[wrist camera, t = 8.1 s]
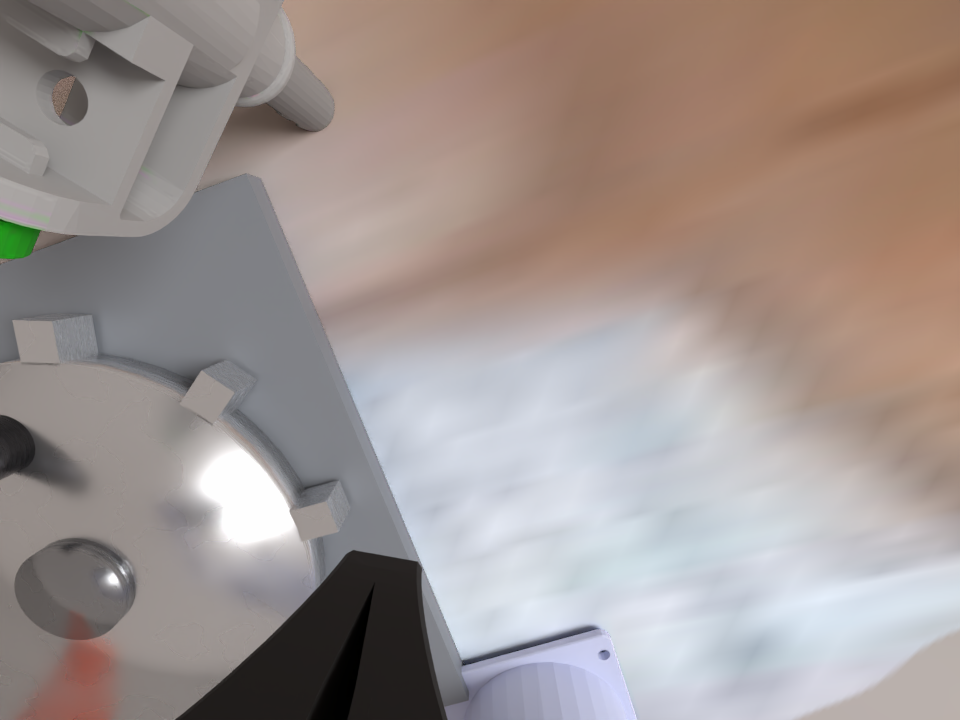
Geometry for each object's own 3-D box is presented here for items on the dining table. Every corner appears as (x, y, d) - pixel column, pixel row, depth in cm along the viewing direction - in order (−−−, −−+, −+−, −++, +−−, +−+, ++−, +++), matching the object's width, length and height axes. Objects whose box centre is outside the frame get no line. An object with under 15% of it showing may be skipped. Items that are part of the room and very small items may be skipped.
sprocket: (420, 684, 19) (404, 805, 15) (17, 780, 20) (-103, 918, 16) (249, 253, 15) (161, 254, 11) (-241, 405, 16) (-489, 459, 12)
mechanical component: (203, 217, 16) (-222, 169, 6) (345, -81, 14) (43, -826, 4) (280, 264, 16) (-9, 286, 7) (430, -21, 14) (326, -582, 5)
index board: (469, 678, 21) (468, 713, 19) (-3, 807, 22) (-39, 849, 21) (260, 178, 16) (236, 170, 14) (-322, 392, 18) (-400, 406, 16)
